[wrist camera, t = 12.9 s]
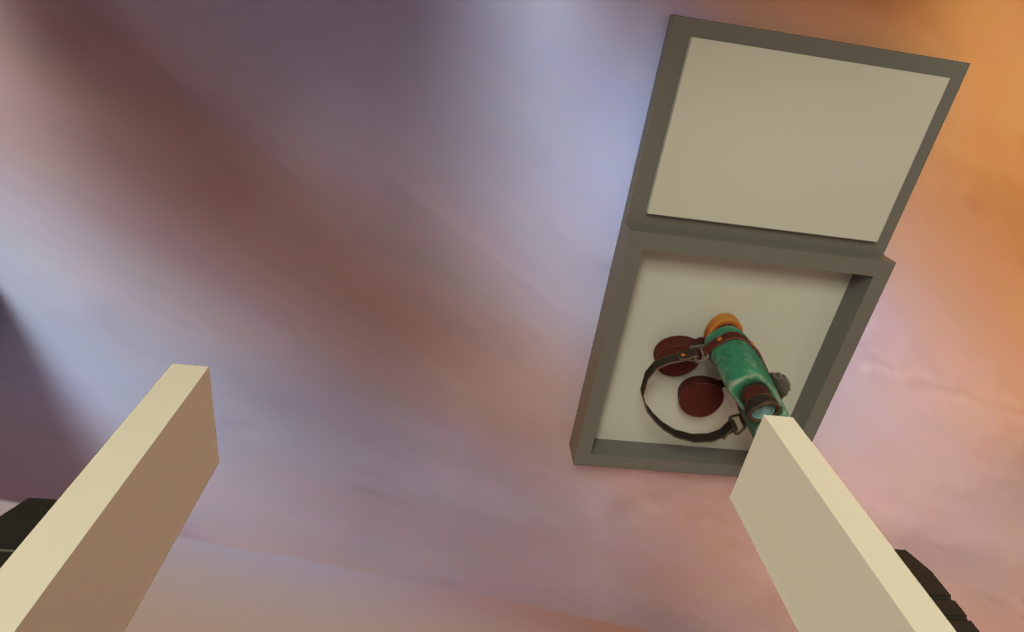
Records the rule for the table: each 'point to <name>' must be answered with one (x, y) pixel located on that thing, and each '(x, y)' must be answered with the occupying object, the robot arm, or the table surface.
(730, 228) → the case
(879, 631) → the robot arm
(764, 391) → the binoculars
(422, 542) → the table surface
